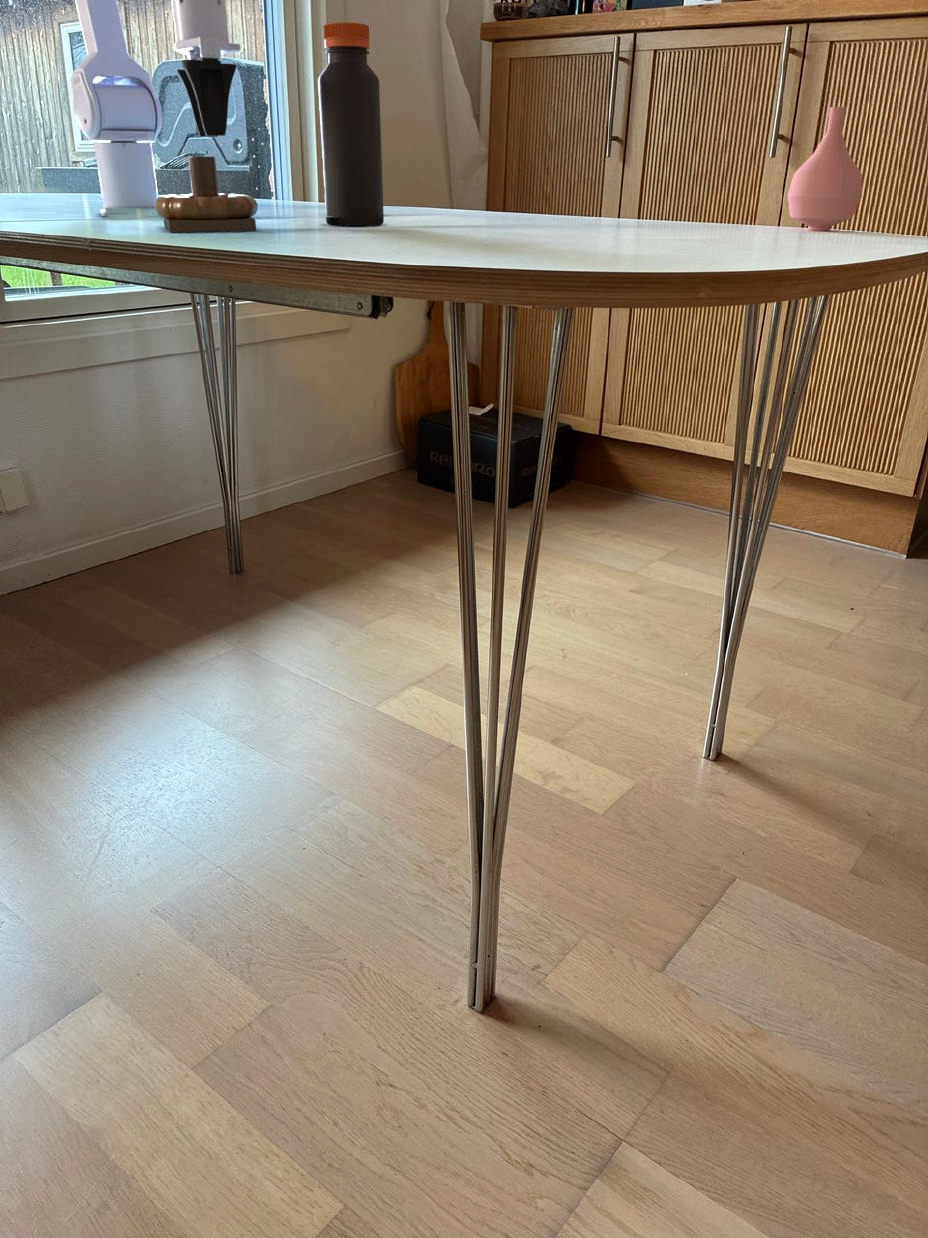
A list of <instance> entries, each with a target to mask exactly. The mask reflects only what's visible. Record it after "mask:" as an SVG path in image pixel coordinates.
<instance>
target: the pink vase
mask: <svg viewBox="0 0 928 1238" xmlns="http://www.w3.org/2000/svg"><path fill="white" fill-rule="evenodd" d="M845 114H846V106H830V107H829V113H828V121H827V128H826V133H825V134H824V136H823V137H822V139H821V140H820V142H819V144H818V145H817V147H816V148H815V150H814V152H813V154H812V155H811V156H810V157H809V158H807V160H806V161H805V162H804V163H803V164H801V166H800V167H799V168H798V169H796V171H795V172H794V173H793V176H792V179H791V183H790V186H789V188H788V193H787V201H788V203H787V204H788V210H789V217H790V218H792V219H794V220H795V221H798V222H799V223H801V224H803V225H805V226H807V227H808V228H807V230H808V231H815V232H817V231H819V232H821V231H822V232H825V231H826V232H827V231H831V227H834V226H836V225H838V224H841V223H844V222H846V221H848V220H851V219H853V217H854V215H855V213H856V210H857V208H858V206H859V204H860V202H861V199H862V197H863V173H862V172H861V170H860V168H859V167H858V166H857V164H856V163H855V161H854V160H853V158H852V156H850V154H849V151H848V148H847V144H846V141H845V137H844V134H843V126H844V121H845V116H846V115H845Z"/></svg>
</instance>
